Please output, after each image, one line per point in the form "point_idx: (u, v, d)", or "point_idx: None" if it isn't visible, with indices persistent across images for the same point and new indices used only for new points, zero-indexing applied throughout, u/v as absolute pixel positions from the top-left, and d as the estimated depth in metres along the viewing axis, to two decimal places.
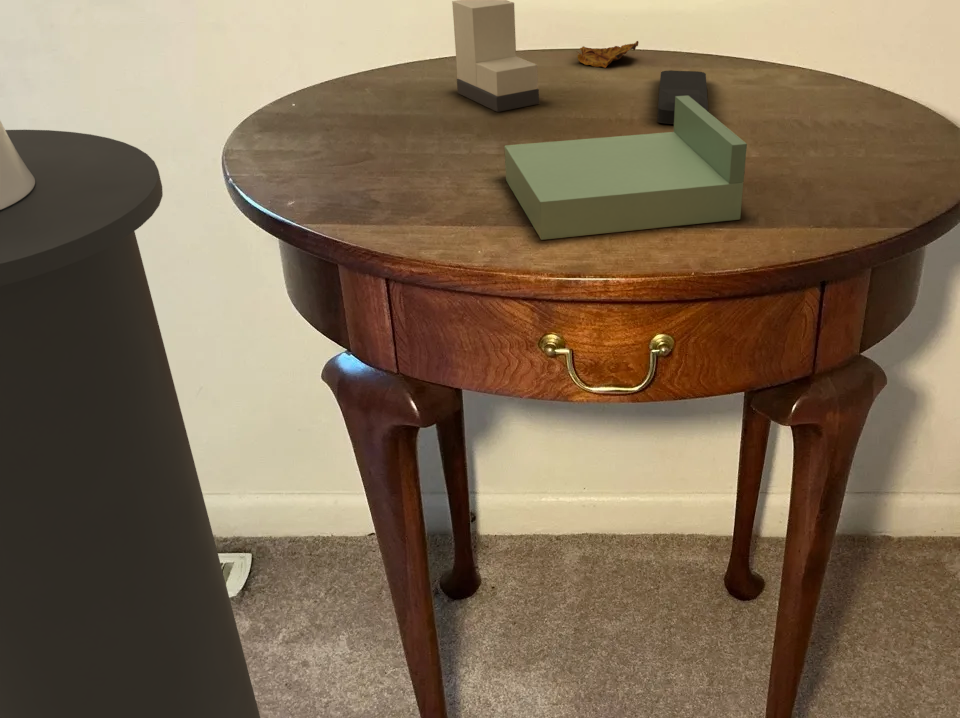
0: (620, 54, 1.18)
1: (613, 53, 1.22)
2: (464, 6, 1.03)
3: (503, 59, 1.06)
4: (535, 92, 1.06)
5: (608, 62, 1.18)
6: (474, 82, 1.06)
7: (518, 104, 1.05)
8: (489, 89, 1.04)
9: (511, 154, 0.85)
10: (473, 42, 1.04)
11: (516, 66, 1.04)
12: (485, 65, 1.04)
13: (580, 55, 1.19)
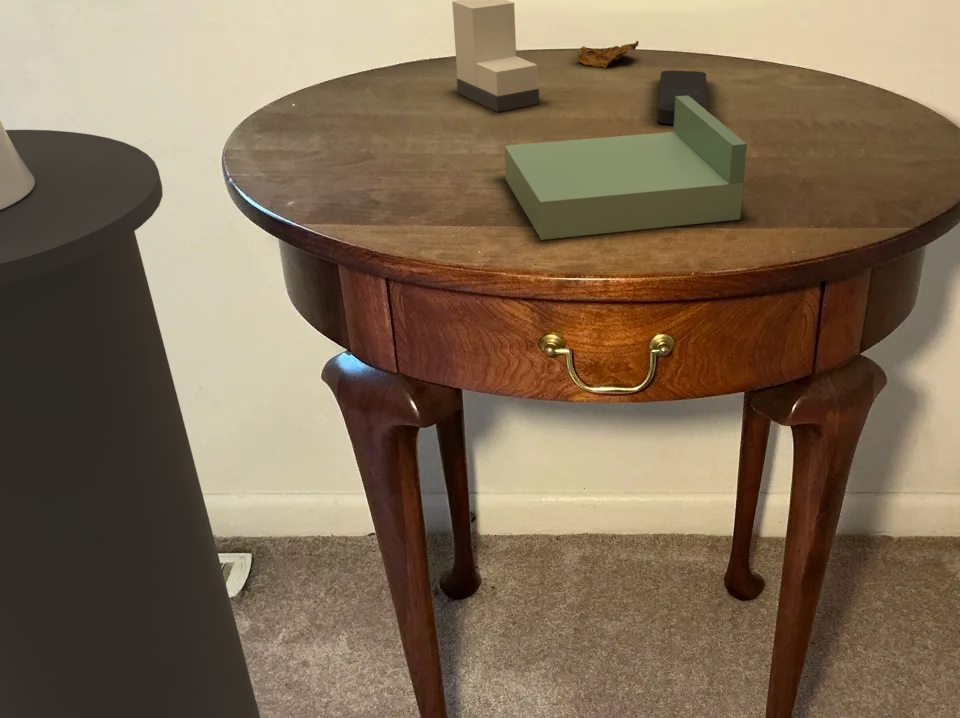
0: (620, 54, 1.18)
1: (613, 53, 1.22)
2: (464, 6, 1.03)
3: (503, 59, 1.06)
4: (535, 92, 1.06)
5: (608, 62, 1.18)
6: (474, 82, 1.06)
7: (518, 104, 1.05)
8: (489, 89, 1.04)
9: (511, 154, 0.85)
10: (473, 42, 1.04)
11: (516, 66, 1.04)
12: (485, 65, 1.04)
13: (580, 55, 1.19)
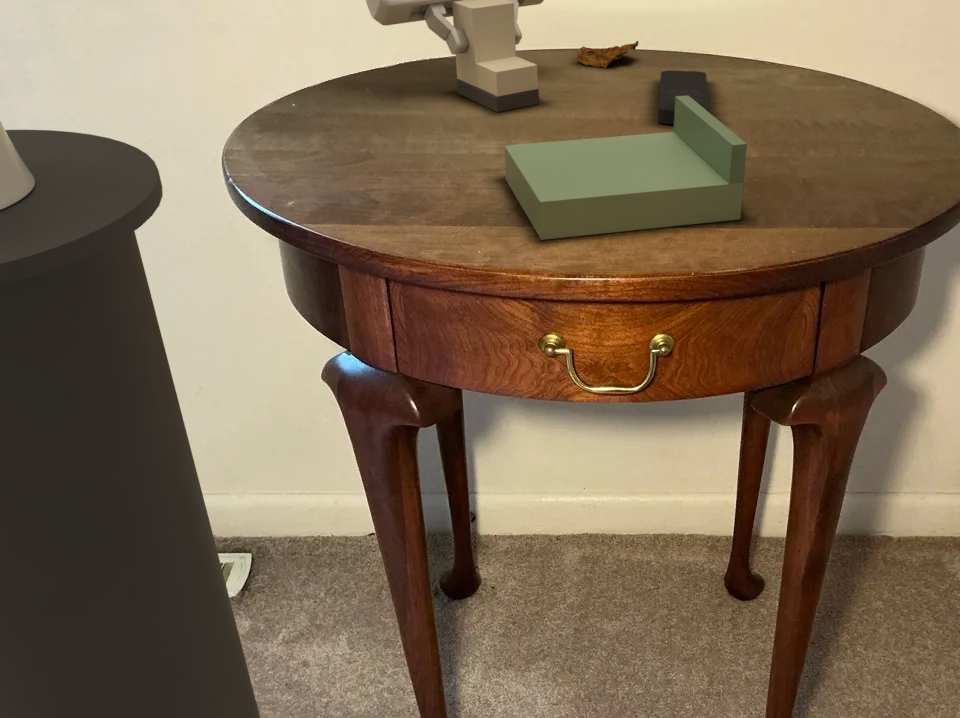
0: (620, 54, 1.18)
1: (613, 53, 1.22)
2: (464, 6, 1.03)
3: (503, 59, 1.06)
4: (535, 92, 1.06)
5: (608, 62, 1.18)
6: (474, 82, 1.06)
7: (518, 104, 1.05)
8: (489, 89, 1.04)
9: (511, 154, 0.85)
10: (473, 43, 1.04)
11: (516, 66, 1.04)
12: (485, 65, 1.04)
13: (580, 55, 1.19)
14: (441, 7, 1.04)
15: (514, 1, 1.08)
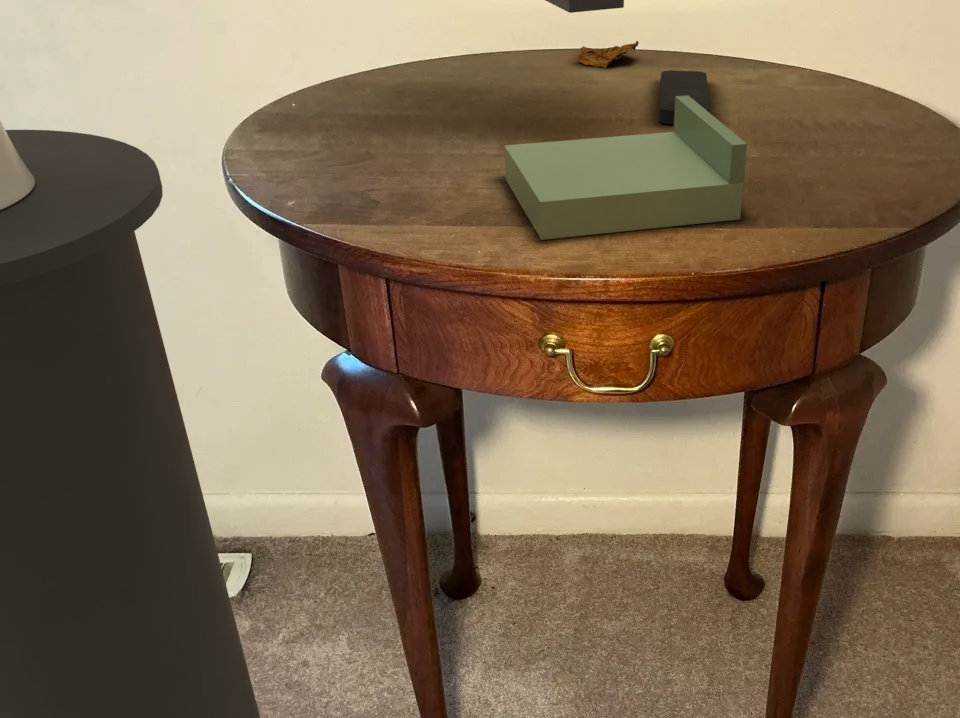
0: (620, 54, 1.18)
1: (613, 53, 1.22)
2: None
3: None
4: None
5: (608, 62, 1.18)
6: None
7: (596, 5, 0.87)
8: None
9: (511, 154, 0.85)
10: None
11: None
12: None
13: (580, 55, 1.19)
14: None
15: None
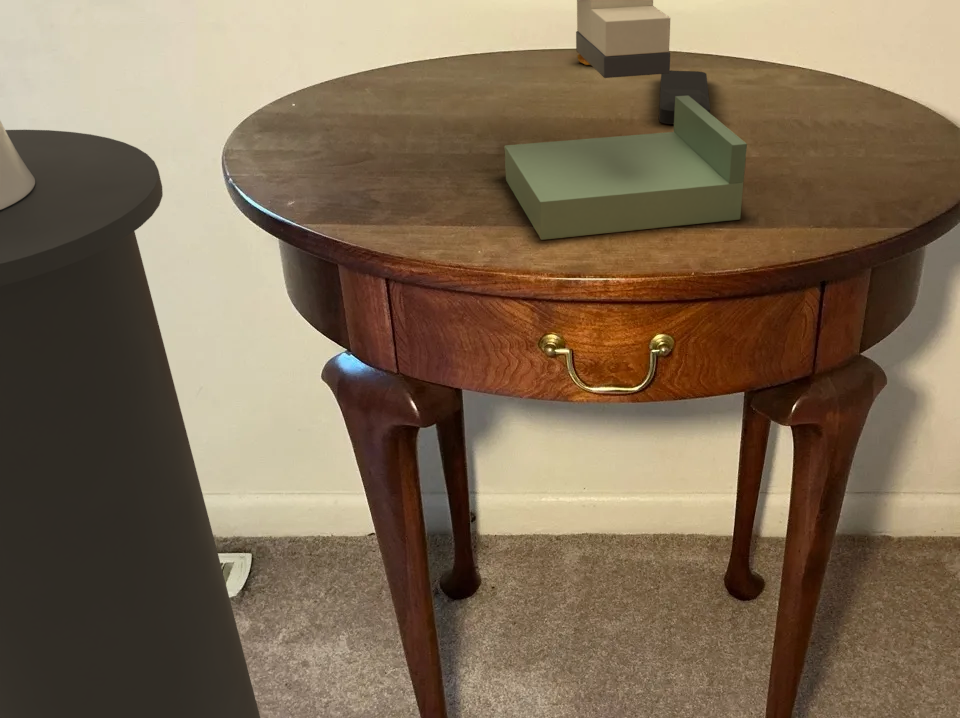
0: None
1: None
2: None
3: (631, 7, 0.77)
4: (664, 56, 0.76)
5: None
6: (589, 36, 0.78)
7: (637, 70, 0.76)
8: (599, 46, 0.76)
9: (511, 154, 0.85)
10: None
11: (639, 17, 0.74)
12: (600, 12, 0.75)
13: (580, 55, 1.19)
14: None
15: None
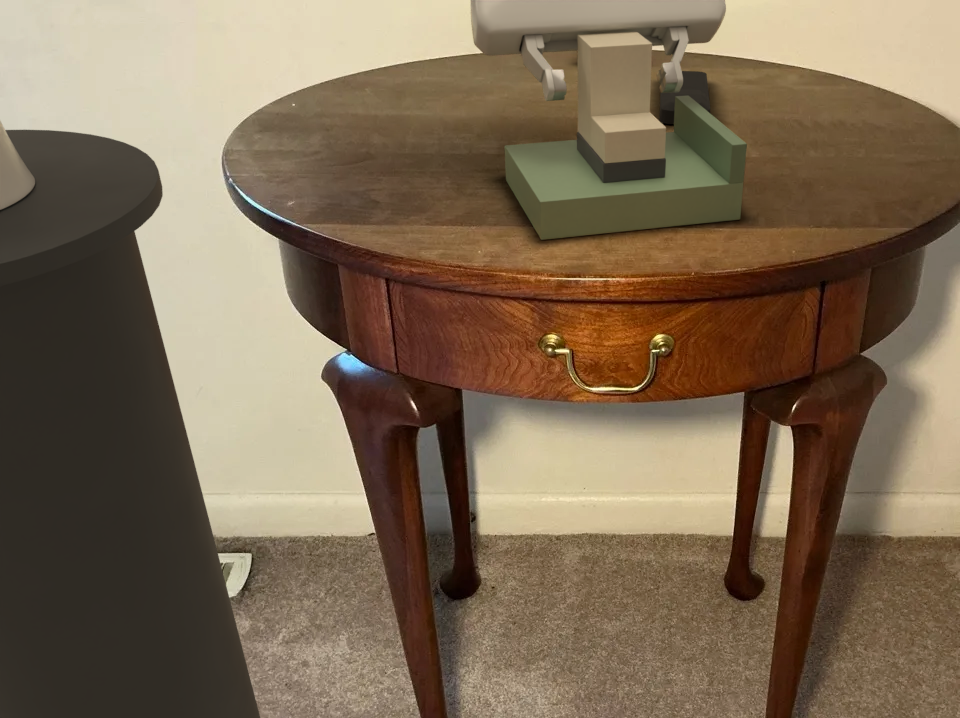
0: None
1: None
2: (585, 43, 0.79)
3: (629, 115, 0.81)
4: (660, 162, 0.80)
5: None
6: (589, 140, 0.82)
7: (634, 175, 0.80)
8: (599, 152, 0.80)
9: (511, 154, 0.85)
10: (590, 91, 0.80)
11: (637, 127, 0.79)
12: (599, 121, 0.80)
13: None
14: (539, 40, 0.80)
15: (683, 36, 0.83)
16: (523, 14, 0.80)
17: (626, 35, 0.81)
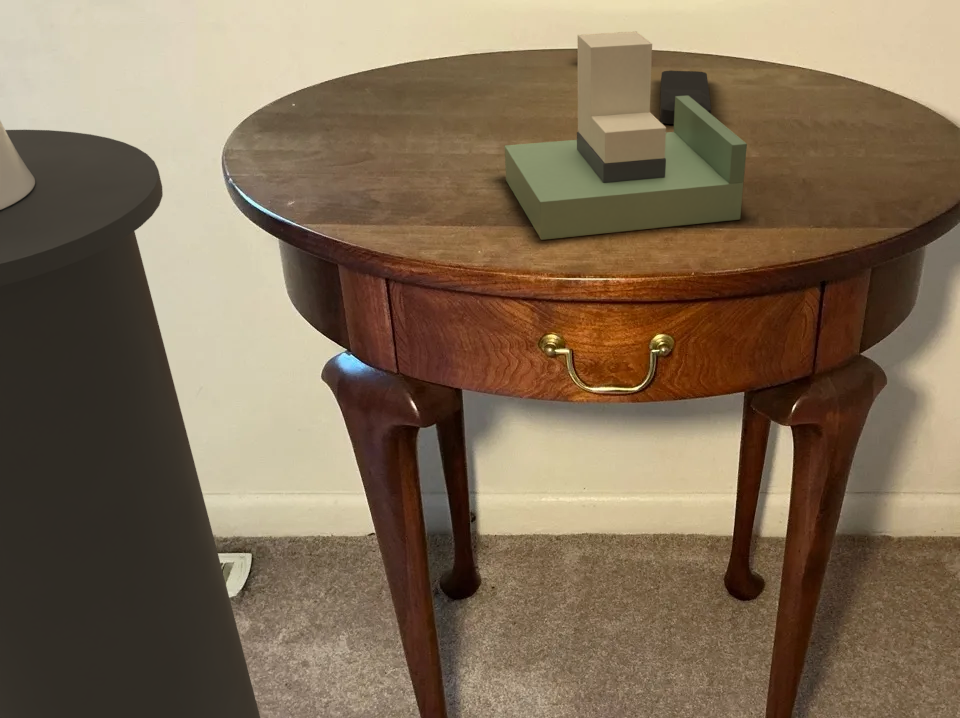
0: None
1: None
2: (585, 43, 0.79)
3: (629, 115, 0.81)
4: (660, 162, 0.80)
5: None
6: (589, 140, 0.82)
7: (634, 175, 0.80)
8: (599, 152, 0.80)
9: (511, 154, 0.85)
10: (590, 91, 0.80)
11: (637, 127, 0.79)
12: (599, 121, 0.80)
13: None
14: None
15: None
16: None
17: (626, 35, 0.81)
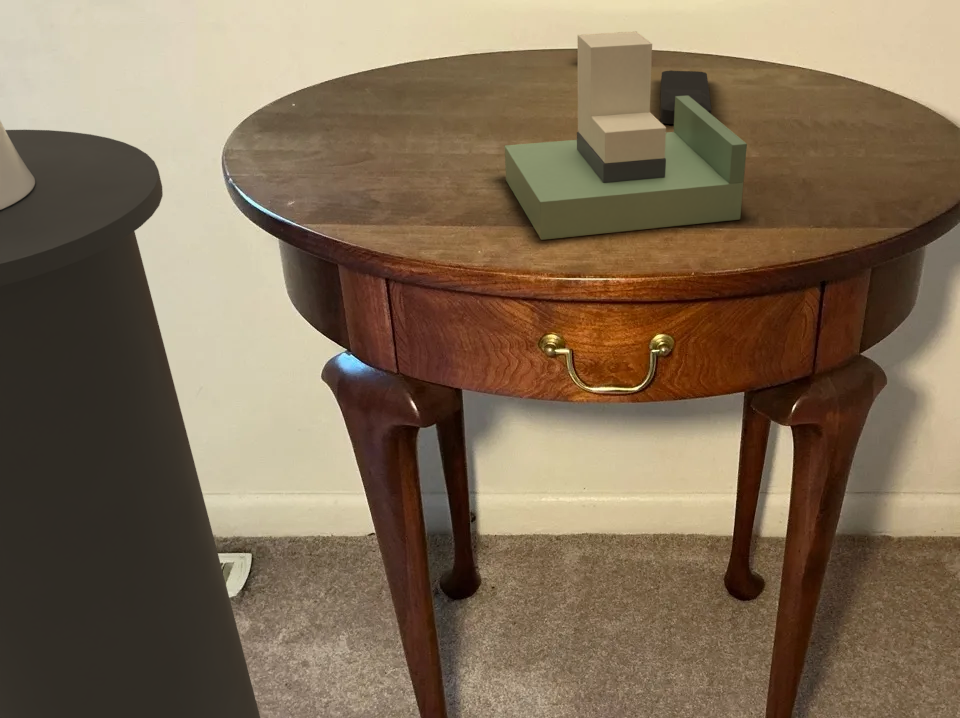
0: None
1: None
2: (585, 43, 0.79)
3: (629, 115, 0.81)
4: (660, 162, 0.80)
5: None
6: (589, 140, 0.82)
7: (634, 175, 0.80)
8: (599, 152, 0.80)
9: (511, 154, 0.85)
10: (590, 91, 0.80)
11: (637, 127, 0.79)
12: (599, 121, 0.80)
13: None
14: None
15: None
16: None
17: (626, 35, 0.81)
